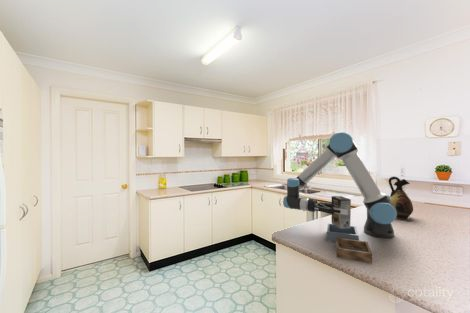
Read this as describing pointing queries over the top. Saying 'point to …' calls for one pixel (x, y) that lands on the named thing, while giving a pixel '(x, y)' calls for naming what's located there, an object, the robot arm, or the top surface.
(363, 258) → the walnut caddy
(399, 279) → the top surface
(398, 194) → the ceramic jug
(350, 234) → the slate tray
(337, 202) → the coffee box
